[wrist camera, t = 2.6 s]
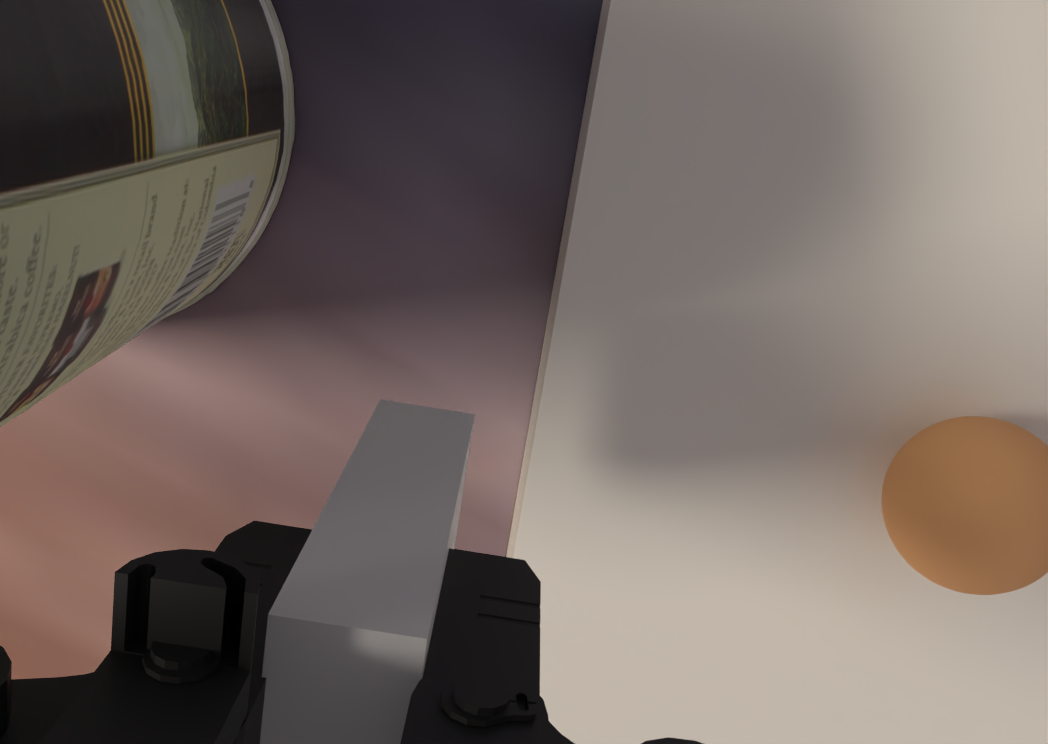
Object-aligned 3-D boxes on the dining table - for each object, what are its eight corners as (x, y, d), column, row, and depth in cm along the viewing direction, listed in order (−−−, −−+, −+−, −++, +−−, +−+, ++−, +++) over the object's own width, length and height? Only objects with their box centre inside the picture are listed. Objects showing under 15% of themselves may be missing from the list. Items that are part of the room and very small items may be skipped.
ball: (883, 380, 19) (948, 441, 16) (1045, 407, 19) (1143, 471, 16) (841, 530, 20) (895, 615, 17) (996, 554, 20) (1078, 643, 17)
